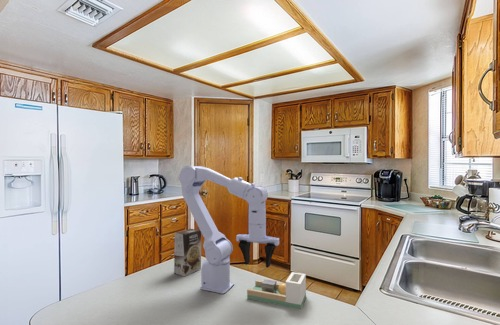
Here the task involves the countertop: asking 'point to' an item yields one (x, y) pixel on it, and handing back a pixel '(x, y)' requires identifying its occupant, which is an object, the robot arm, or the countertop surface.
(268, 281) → the block
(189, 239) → the coffee box
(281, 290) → the ball
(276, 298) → the pitch
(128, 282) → the countertop surface
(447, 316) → the countertop surface
